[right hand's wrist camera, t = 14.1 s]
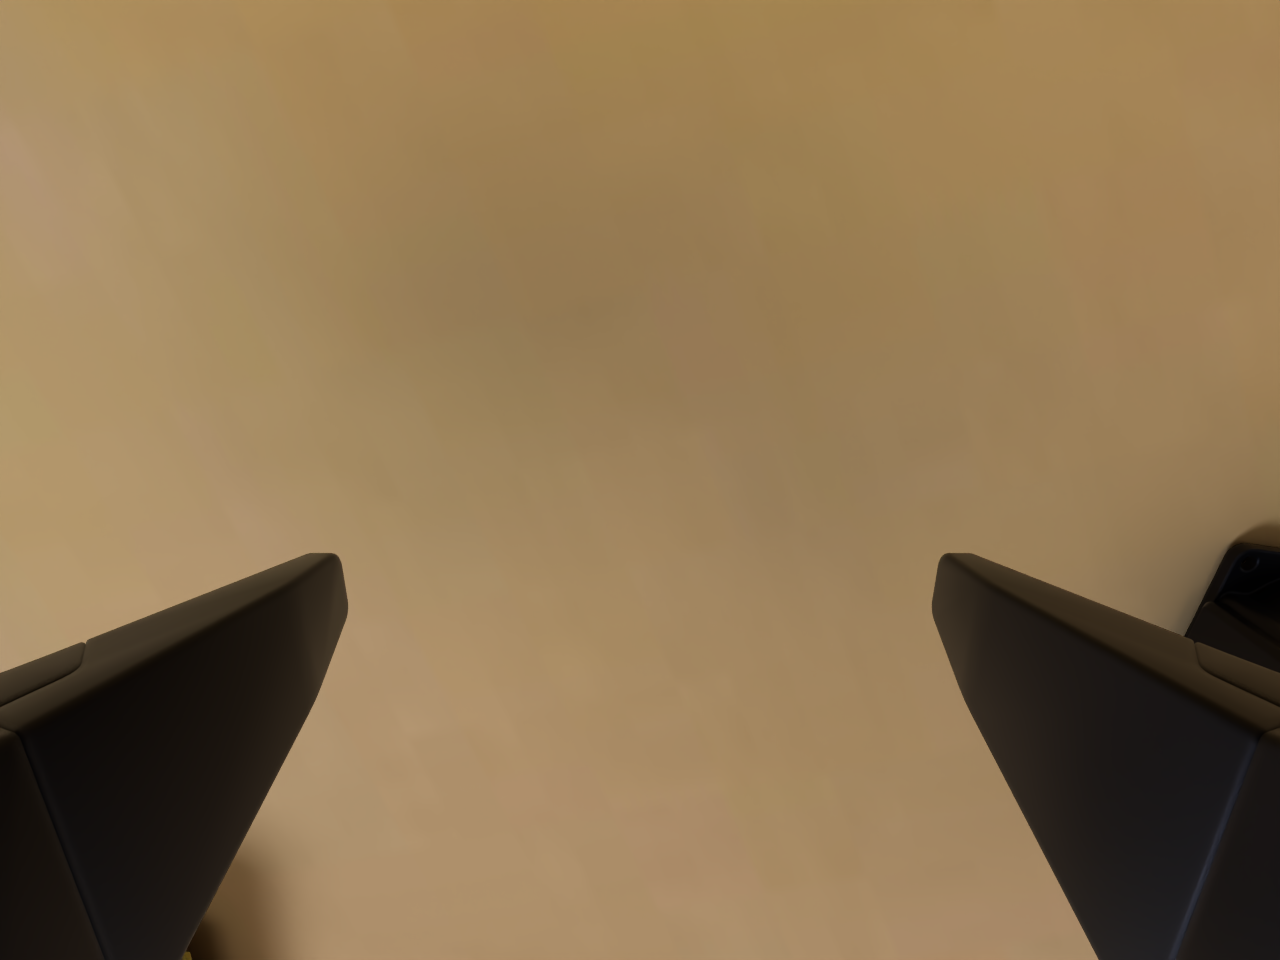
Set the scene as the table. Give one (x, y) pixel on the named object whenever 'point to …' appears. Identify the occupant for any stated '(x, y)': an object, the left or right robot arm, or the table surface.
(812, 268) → the table surface
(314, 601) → the right robot arm
